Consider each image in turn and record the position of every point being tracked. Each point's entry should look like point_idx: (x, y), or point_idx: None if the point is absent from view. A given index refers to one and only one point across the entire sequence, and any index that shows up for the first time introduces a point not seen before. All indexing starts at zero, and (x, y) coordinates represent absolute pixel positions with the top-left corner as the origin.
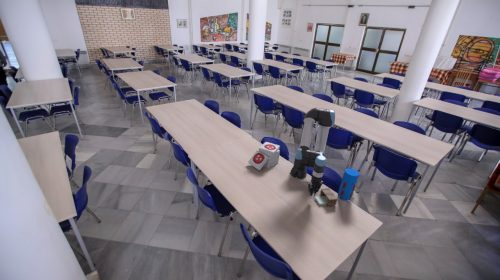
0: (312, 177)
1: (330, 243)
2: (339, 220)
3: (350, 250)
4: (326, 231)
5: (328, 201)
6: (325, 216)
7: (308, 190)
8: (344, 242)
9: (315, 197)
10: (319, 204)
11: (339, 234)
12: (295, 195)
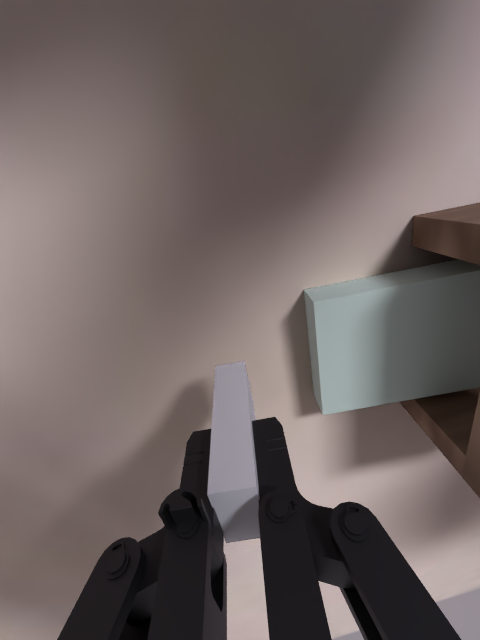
0: None
1: (256, 623)
2: (406, 518)
3: (341, 635)
4: None
5: (447, 448)
6: (314, 497)
7: (91, 577)
8: (336, 615)
9: (315, 315)
10: (319, 405)
11: (336, 588)
12: (20, 228)
